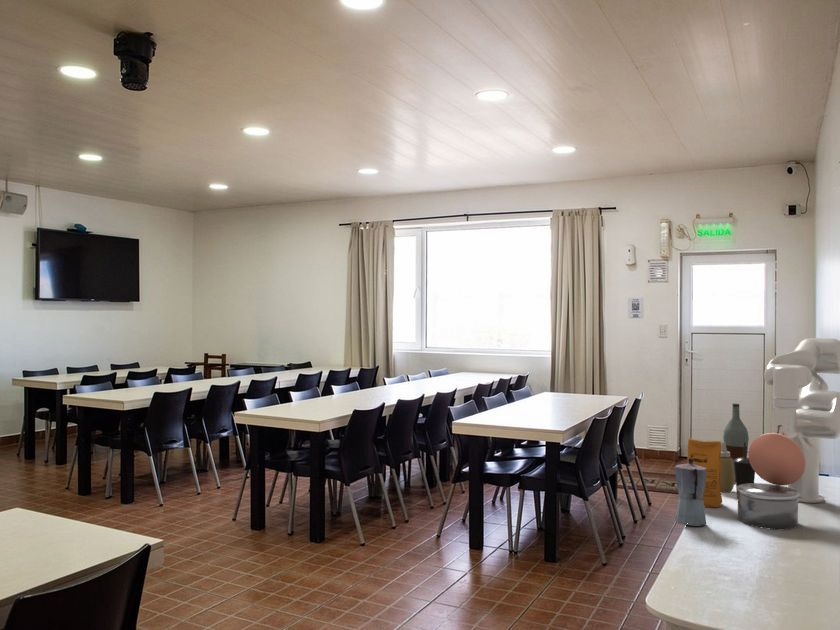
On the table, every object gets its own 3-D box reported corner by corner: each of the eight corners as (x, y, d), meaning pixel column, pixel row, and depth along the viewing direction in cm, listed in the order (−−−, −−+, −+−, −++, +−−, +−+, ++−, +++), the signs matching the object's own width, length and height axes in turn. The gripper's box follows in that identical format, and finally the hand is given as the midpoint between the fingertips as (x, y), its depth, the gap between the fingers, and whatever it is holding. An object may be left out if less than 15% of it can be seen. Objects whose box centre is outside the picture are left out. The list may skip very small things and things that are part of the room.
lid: (750, 480, 236) (753, 478, 238) (806, 489, 224) (808, 486, 226) (746, 431, 234) (749, 428, 236) (802, 437, 222) (805, 435, 224)
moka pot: (700, 517, 229) (700, 454, 229) (715, 531, 213) (715, 464, 213) (669, 516, 230) (669, 454, 230) (682, 530, 214) (682, 464, 214)
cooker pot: (749, 510, 237) (749, 480, 237) (807, 521, 224) (807, 489, 224) (727, 521, 224) (727, 489, 224) (787, 533, 212) (787, 499, 212)
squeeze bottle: (738, 493, 259) (739, 444, 259) (716, 493, 259) (716, 443, 259) (729, 488, 267) (729, 440, 267) (707, 488, 267) (708, 440, 267)
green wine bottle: (754, 482, 277) (754, 404, 277) (734, 483, 275) (734, 405, 275) (737, 476, 286) (737, 402, 286) (717, 478, 284) (718, 402, 284)
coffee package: (686, 498, 253) (686, 435, 253) (724, 502, 246) (724, 439, 246) (680, 504, 244) (681, 440, 244) (719, 509, 238) (719, 443, 238)
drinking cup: (755, 503, 246) (755, 445, 246) (731, 500, 250) (731, 443, 250) (758, 498, 252) (758, 442, 252) (734, 495, 256) (734, 440, 256)
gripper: (781, 401, 243) (781, 455, 243) (765, 404, 233) (765, 460, 233) (805, 403, 238) (805, 458, 238) (790, 406, 228) (789, 464, 227)
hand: (785, 459), depth 235 cm, fingers closed
